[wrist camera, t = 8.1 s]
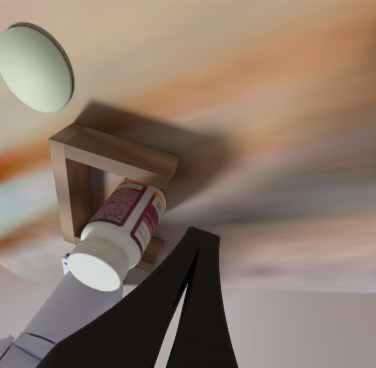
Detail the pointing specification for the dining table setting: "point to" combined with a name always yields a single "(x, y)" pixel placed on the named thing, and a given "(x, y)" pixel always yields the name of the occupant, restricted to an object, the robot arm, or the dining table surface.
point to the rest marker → (34, 69)
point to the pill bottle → (117, 235)
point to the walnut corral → (108, 161)
